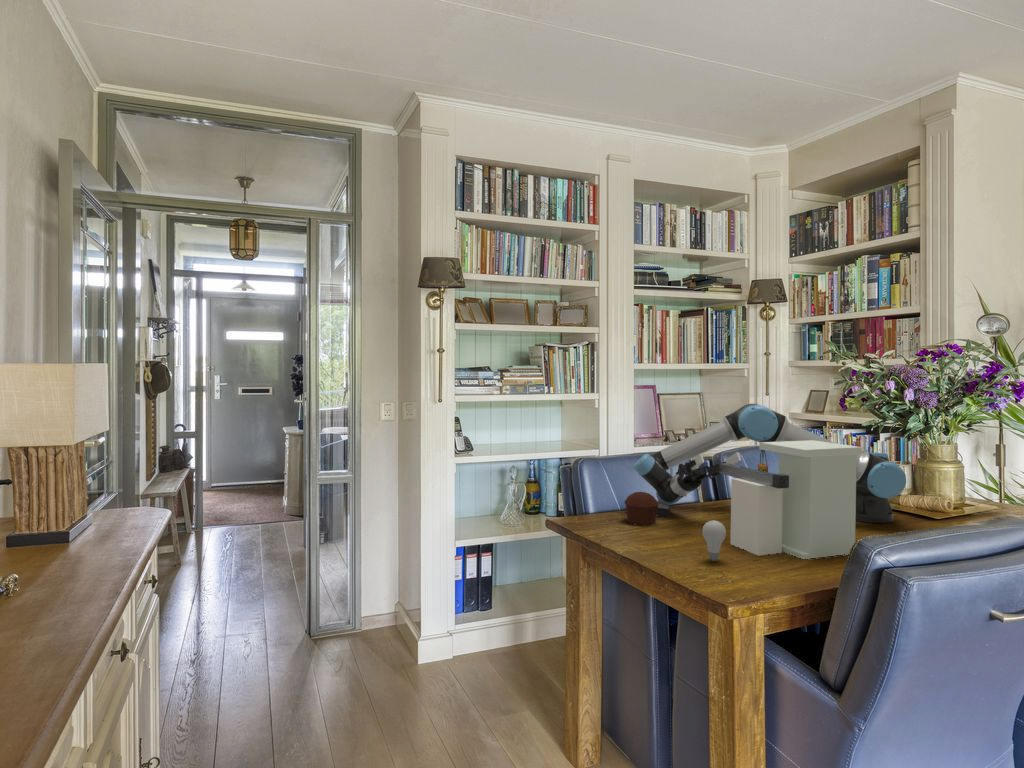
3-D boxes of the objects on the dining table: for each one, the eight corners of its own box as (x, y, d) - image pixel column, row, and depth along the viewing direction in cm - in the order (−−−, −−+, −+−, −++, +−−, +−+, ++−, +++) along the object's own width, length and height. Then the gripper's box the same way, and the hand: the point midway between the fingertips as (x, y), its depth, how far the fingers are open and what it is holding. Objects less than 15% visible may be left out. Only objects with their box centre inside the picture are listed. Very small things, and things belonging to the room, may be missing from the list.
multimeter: (789, 501, 249) (789, 450, 249) (762, 500, 251) (762, 450, 251) (781, 494, 264) (781, 446, 263) (755, 493, 265) (756, 445, 265)
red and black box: (670, 507, 223) (627, 502, 227) (669, 519, 224) (626, 514, 227) (670, 500, 234) (629, 496, 238) (670, 512, 234) (628, 508, 238)
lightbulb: (698, 558, 175) (698, 518, 174) (720, 557, 175) (720, 517, 175) (707, 565, 168) (707, 523, 168) (729, 564, 169) (730, 523, 169)
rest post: (730, 544, 188) (731, 478, 188) (753, 542, 191) (753, 477, 190) (758, 555, 177) (759, 485, 176) (781, 553, 179) (782, 484, 179)
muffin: (665, 525, 211) (665, 495, 211) (635, 527, 208) (635, 497, 207) (647, 517, 222) (647, 488, 222) (618, 519, 219) (618, 490, 219)
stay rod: (718, 473, 197) (718, 462, 197) (727, 472, 198) (728, 461, 198) (778, 488, 173) (778, 476, 172) (788, 487, 174) (789, 475, 174)
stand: (758, 542, 190) (759, 442, 189) (811, 537, 197) (813, 440, 196) (803, 560, 173) (804, 449, 172) (860, 553, 179) (862, 447, 179)
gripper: (720, 489, 218) (757, 466, 201) (657, 494, 210) (689, 470, 193) (714, 469, 222) (749, 444, 204) (651, 472, 214) (682, 447, 196)
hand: (720, 457), depth 199 cm, fingers open, 13 cm apart
